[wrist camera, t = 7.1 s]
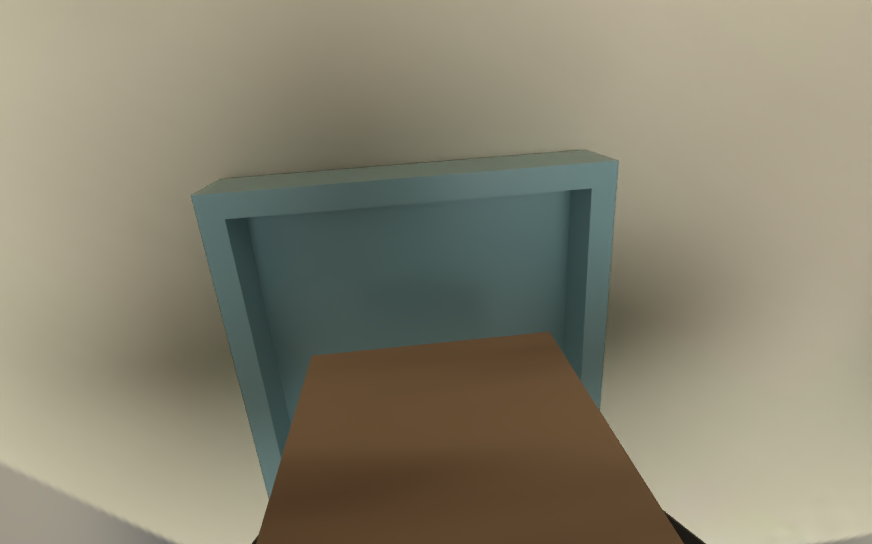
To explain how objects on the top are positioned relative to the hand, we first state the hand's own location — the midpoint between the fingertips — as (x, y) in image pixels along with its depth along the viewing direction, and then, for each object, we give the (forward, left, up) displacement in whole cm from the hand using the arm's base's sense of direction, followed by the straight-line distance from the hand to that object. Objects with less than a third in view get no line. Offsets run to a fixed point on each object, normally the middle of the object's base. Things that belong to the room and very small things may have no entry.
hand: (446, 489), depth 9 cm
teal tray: (0, 0, -6) cm, 6 cm away
